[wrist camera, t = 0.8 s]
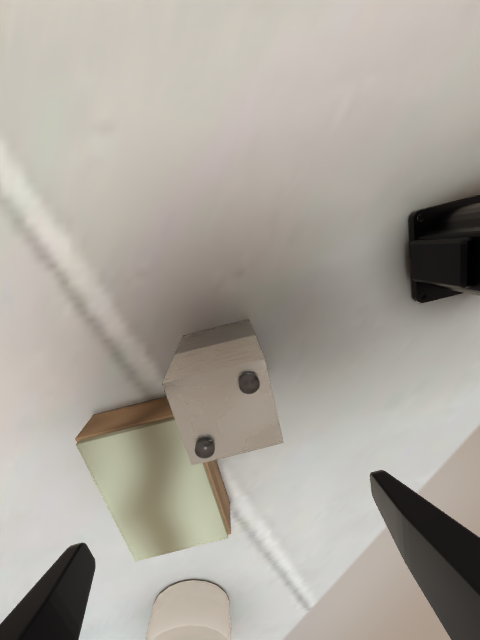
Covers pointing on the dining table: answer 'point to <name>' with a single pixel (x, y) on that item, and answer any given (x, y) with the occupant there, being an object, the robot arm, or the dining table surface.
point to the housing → (222, 394)
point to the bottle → (190, 613)
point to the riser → (153, 480)
